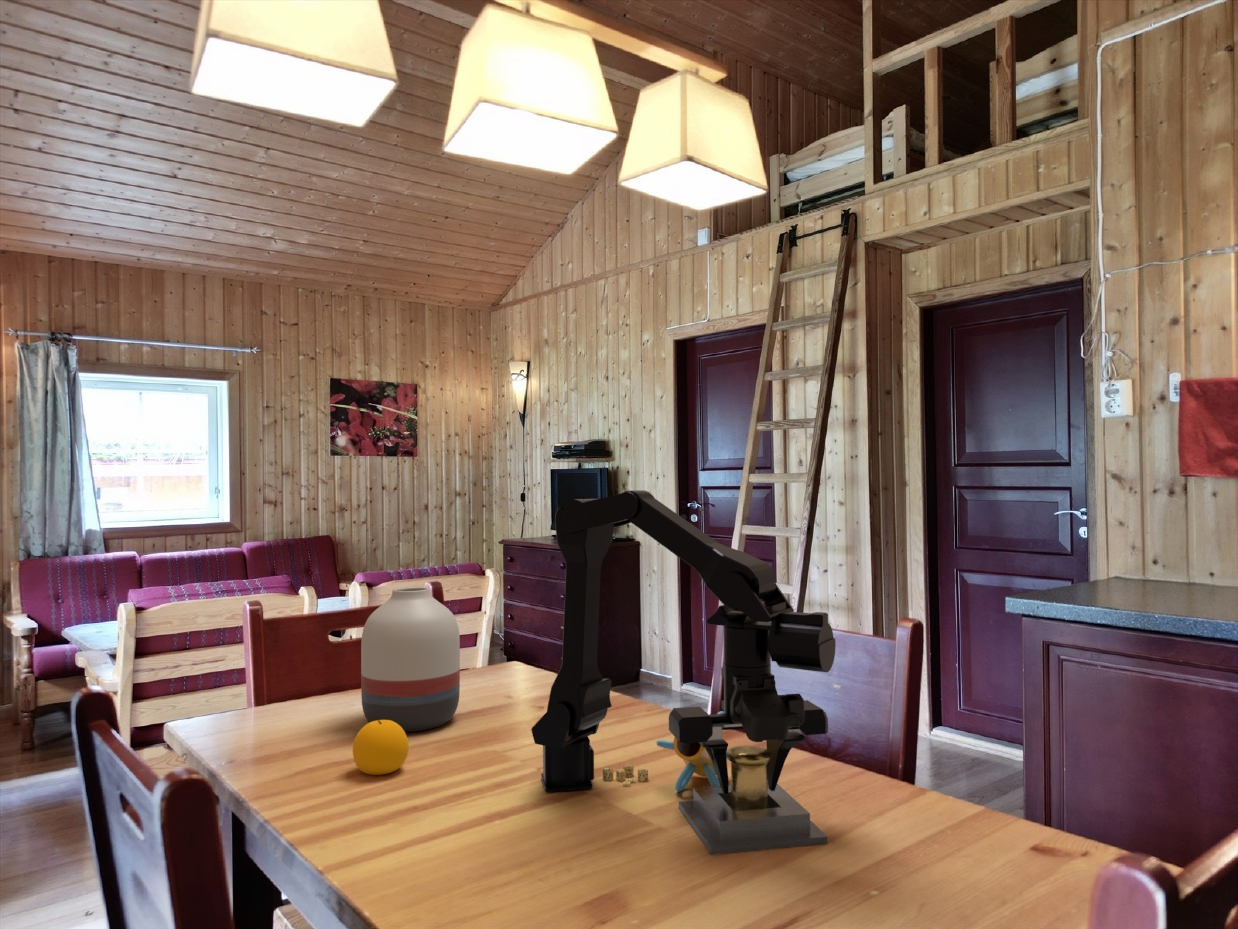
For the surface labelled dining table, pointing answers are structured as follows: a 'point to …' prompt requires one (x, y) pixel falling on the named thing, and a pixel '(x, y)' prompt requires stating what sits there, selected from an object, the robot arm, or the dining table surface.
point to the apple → (380, 747)
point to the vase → (410, 661)
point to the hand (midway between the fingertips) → (748, 791)
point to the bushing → (749, 777)
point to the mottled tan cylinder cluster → (625, 774)
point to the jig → (749, 822)
